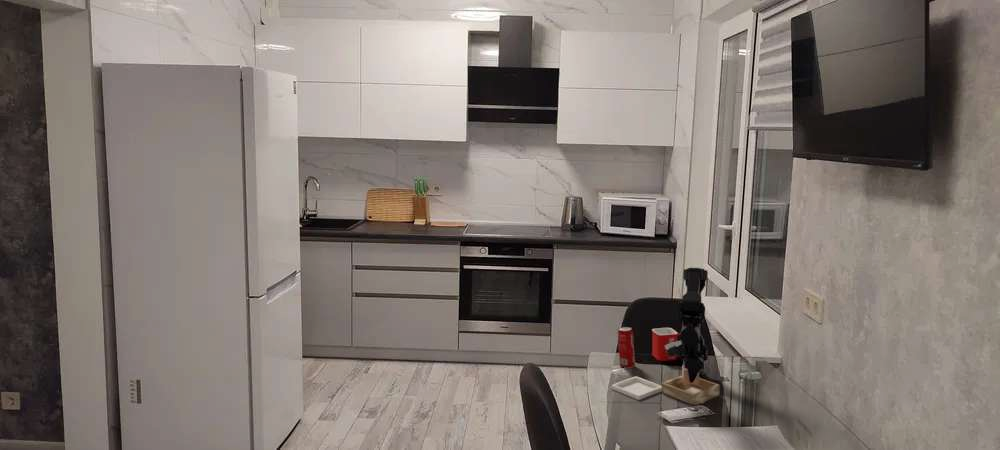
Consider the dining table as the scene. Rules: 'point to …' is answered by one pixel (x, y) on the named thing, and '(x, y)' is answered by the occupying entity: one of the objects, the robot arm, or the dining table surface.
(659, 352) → the mug
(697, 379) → the clay block
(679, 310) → the robot arm
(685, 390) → the wooden bin
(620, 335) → the beverage can
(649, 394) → the tray
